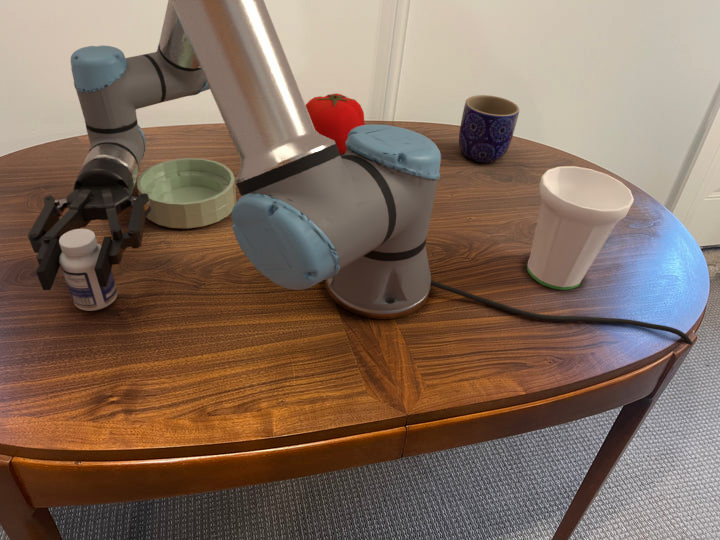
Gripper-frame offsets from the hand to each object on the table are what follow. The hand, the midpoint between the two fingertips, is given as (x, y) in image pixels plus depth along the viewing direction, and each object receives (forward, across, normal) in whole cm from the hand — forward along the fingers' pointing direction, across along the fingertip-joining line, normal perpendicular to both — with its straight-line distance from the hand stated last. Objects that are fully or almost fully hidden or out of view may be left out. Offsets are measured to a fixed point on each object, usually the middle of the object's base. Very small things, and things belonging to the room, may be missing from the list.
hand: (72, 279), depth 62 cm
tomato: (-48, -37, -8) cm, 62 cm away
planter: (-45, -69, -8) cm, 83 cm away
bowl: (-29, -11, -8) cm, 32 cm away
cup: (-5, -66, -9) cm, 67 cm away
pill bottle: (-5, 0, -8) cm, 9 cm away
